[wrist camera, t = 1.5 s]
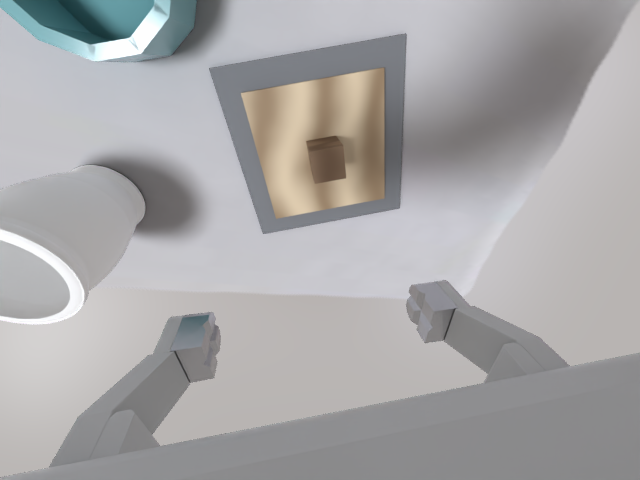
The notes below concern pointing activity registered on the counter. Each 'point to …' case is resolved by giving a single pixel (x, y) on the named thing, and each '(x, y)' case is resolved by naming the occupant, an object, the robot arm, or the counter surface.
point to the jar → (62, 240)
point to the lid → (320, 141)
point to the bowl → (107, 26)
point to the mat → (306, 68)
